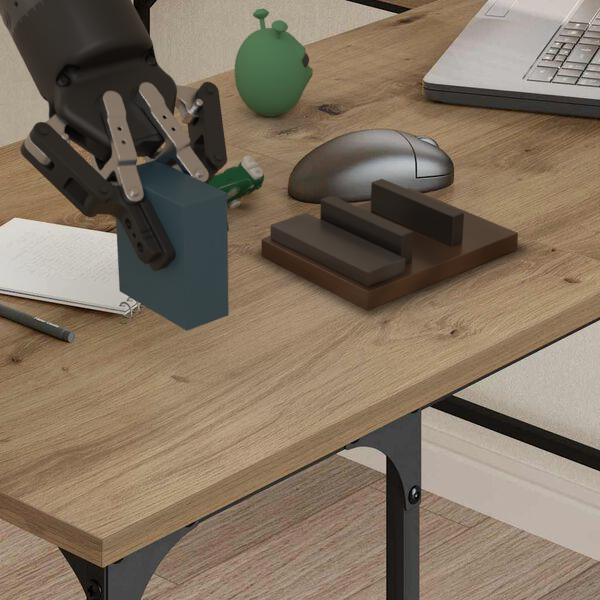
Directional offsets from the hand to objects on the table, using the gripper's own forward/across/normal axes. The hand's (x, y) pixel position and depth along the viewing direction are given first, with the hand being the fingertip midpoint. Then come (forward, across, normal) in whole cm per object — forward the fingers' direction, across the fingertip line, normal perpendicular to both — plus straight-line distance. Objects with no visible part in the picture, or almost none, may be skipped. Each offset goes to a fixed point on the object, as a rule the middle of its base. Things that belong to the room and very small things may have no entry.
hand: (191, 254), depth 84 cm
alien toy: (-20, +40, +36) cm, 57 cm away
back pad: (+1, 0, +4) cm, 5 cm away
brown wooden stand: (+1, +26, +14) cm, 29 cm away
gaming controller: (-10, +20, +25) cm, 34 cm away
